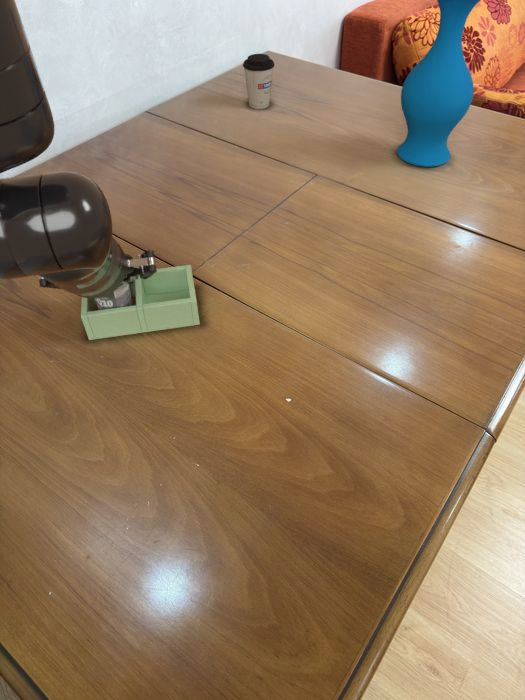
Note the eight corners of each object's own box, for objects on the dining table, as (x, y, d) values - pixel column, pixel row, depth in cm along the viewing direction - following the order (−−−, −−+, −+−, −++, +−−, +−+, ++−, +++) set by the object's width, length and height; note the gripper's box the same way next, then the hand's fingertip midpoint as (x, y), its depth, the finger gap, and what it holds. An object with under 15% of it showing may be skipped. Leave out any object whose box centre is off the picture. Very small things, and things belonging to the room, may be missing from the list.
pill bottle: (92, 312, 74) (76, 264, 67) (117, 294, 76) (103, 245, 70) (116, 326, 72) (102, 277, 66) (141, 306, 74) (129, 257, 68)
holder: (89, 340, 72) (80, 316, 69) (90, 301, 77) (82, 278, 74) (199, 324, 74) (196, 300, 71) (193, 288, 79) (190, 264, 76)
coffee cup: (237, 104, 123) (235, 57, 116) (260, 95, 126) (259, 49, 119) (258, 113, 120) (257, 66, 112) (280, 104, 123) (281, 57, 115)
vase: (445, 178, 100) (490, 4, 79) (381, 162, 104) (408, -6, 84) (463, 150, 107) (508, -15, 86) (402, 137, 111) (432, -24, 91)
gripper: (148, 215, 56) (159, 243, 73) (6, 231, 54) (51, 257, 71) (159, 286, 56) (167, 298, 73) (18, 304, 55) (60, 313, 72)
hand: (110, 278), depth 72 cm, fingers closed on pill bottle, 4 cm apart
